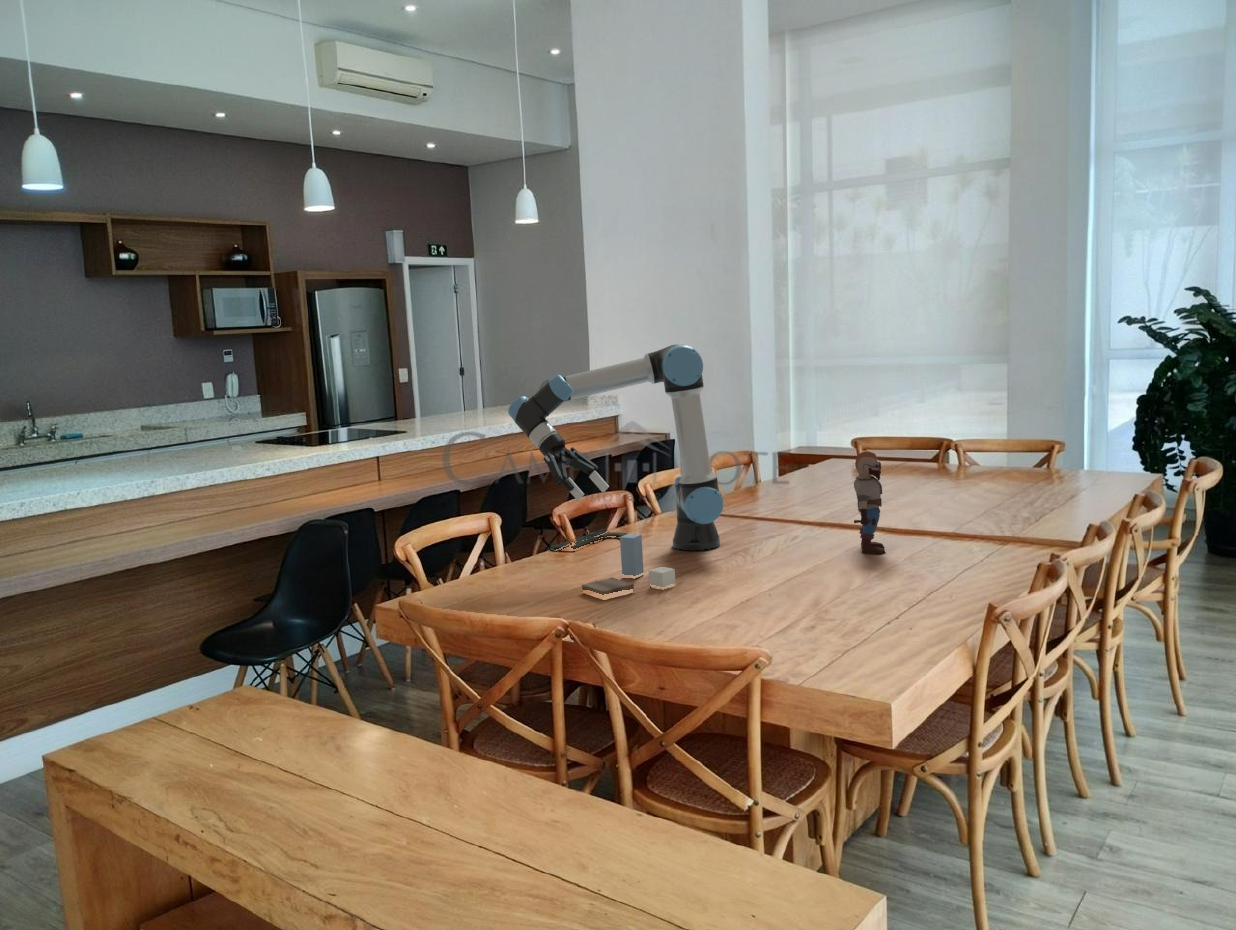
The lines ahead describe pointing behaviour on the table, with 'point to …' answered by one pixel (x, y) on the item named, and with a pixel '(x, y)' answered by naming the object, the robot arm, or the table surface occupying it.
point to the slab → (608, 586)
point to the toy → (868, 500)
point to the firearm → (588, 539)
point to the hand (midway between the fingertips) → (593, 493)
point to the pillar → (631, 554)
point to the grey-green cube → (662, 576)
